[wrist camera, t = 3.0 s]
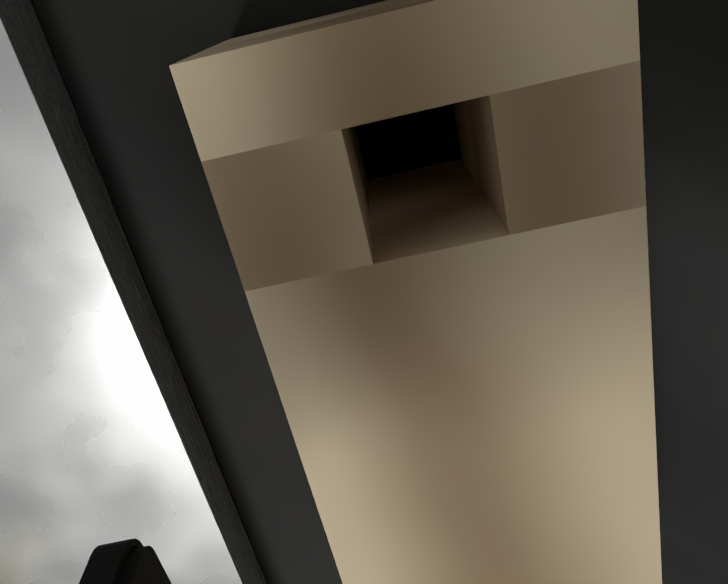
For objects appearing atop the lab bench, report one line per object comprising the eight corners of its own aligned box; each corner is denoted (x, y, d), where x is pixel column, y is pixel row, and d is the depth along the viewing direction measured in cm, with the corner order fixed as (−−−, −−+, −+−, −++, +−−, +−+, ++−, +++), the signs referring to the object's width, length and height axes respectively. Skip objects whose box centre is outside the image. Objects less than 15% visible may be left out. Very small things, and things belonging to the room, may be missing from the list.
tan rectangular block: (539, -38, 13) (635, -49, 9) (595, 537, 20) (666, 700, 15) (230, 38, 14) (169, 65, 9) (386, 573, 20) (396, 741, 16)
